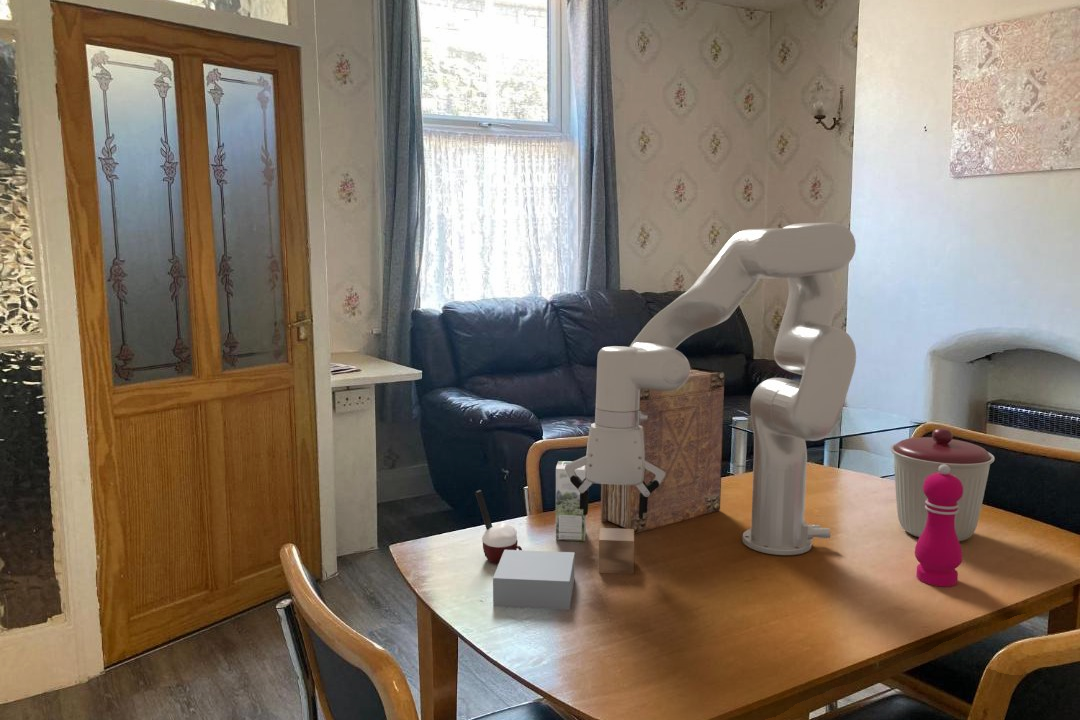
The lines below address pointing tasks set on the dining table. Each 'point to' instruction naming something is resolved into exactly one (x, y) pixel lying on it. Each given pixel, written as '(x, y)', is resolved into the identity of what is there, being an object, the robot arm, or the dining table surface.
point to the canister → (925, 458)
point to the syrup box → (569, 506)
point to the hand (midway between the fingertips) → (613, 514)
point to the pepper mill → (940, 530)
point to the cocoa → (496, 535)
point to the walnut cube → (616, 551)
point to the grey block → (534, 579)
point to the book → (676, 455)
